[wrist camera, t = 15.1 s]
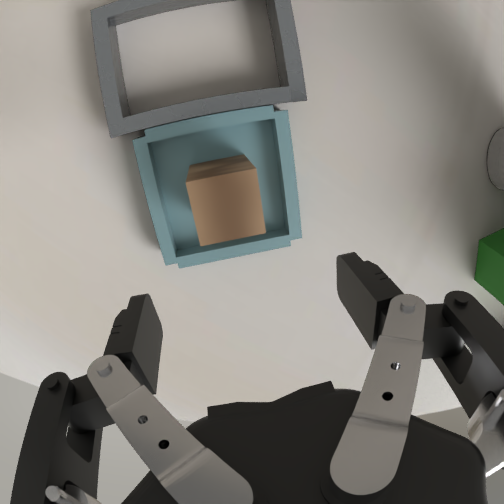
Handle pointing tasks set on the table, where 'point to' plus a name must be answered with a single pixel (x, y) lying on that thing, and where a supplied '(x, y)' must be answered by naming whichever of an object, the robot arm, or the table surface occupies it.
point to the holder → (120, 122)
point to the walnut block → (225, 199)
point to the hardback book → (491, 264)
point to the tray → (211, 148)
